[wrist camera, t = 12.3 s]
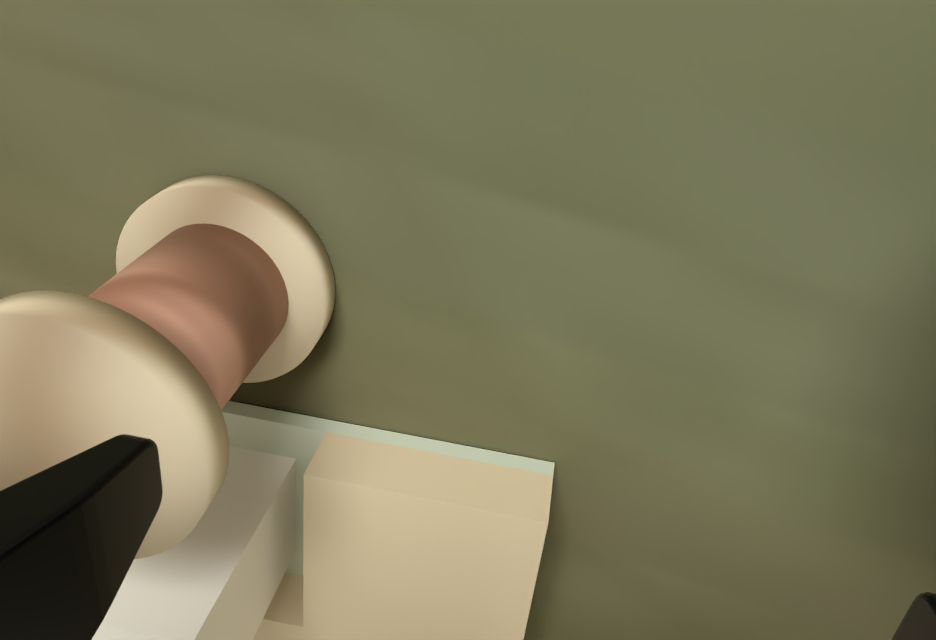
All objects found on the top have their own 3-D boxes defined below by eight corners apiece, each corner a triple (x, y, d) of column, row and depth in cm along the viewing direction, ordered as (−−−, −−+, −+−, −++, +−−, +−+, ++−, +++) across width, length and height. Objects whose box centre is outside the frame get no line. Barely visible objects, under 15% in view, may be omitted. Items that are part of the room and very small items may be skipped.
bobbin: (337, 193, 21) (197, 347, 14) (333, 380, 24) (216, 584, 17) (123, 159, 21) (-115, 289, 14) (146, 346, 24) (-44, 529, 17)
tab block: (296, 549, 26) (201, 745, 20) (184, 526, 27) (59, 711, 21) (296, 458, 24) (191, 645, 18) (175, 434, 25) (34, 609, 19)
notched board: (554, 462, 24) (548, 522, 21) (514, 655, 28) (505, 721, 26) (-52, 347, 25) (-116, 391, 23) (1, 545, 30) (-49, 598, 28)
